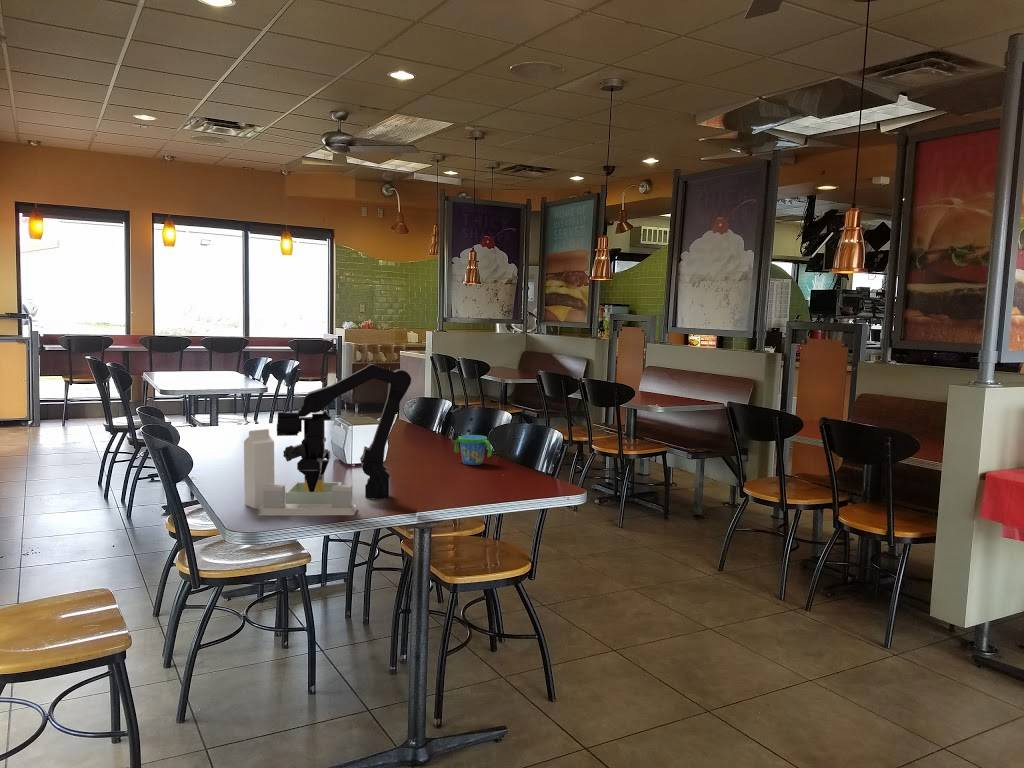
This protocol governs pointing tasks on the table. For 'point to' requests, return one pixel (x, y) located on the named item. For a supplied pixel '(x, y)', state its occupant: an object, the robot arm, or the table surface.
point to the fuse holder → (307, 510)
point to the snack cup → (472, 448)
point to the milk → (258, 466)
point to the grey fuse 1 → (274, 496)
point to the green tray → (309, 494)
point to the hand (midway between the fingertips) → (314, 488)
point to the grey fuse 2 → (342, 496)
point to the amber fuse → (319, 484)
